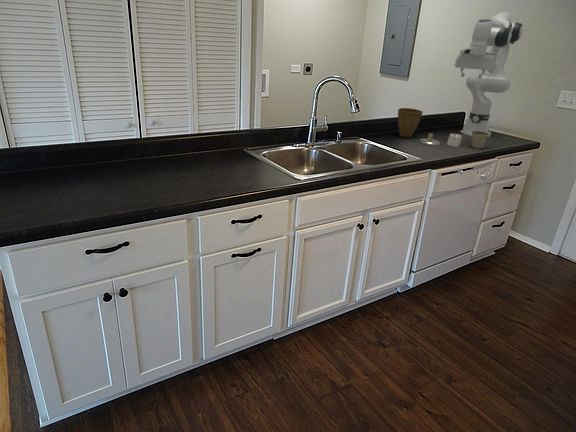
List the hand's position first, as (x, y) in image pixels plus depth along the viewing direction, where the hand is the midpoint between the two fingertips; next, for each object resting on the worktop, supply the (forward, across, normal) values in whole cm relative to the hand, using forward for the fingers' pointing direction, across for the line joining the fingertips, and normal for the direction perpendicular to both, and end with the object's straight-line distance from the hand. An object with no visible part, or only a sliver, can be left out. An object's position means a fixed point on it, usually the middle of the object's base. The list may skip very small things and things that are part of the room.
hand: (470, 77), depth 228 cm
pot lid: (+38, +16, +7) cm, 42 cm away
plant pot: (+38, +29, -6) cm, 49 cm away
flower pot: (+38, -11, +6) cm, 40 cm away
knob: (+38, +2, +7) cm, 39 cm away
